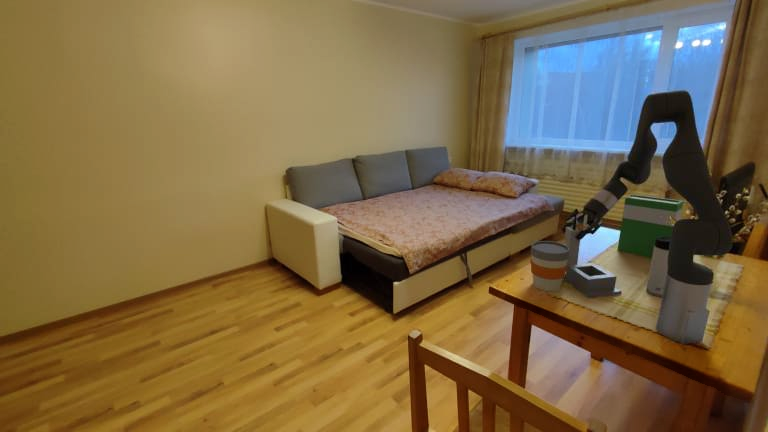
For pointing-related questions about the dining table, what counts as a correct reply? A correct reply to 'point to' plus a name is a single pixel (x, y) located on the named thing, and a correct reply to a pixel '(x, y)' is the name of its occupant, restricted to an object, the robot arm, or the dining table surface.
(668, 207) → the hardback book
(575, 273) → the box
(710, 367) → the dining table surface
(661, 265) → the travel mug
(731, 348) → the dining table surface
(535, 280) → the reusable coffee cup
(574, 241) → the vintage mobile phone
